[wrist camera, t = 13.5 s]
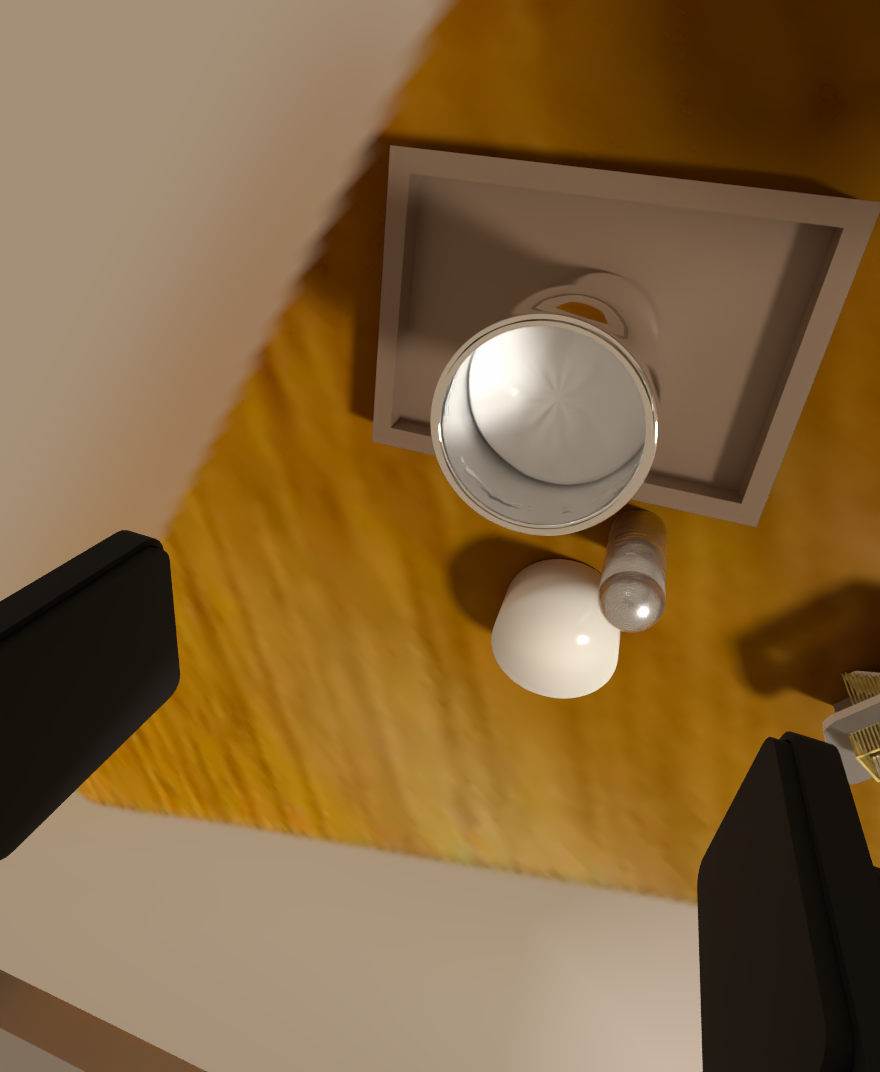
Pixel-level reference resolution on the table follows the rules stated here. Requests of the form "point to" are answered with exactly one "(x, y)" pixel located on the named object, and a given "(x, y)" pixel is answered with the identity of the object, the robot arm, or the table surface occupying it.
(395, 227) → the tray
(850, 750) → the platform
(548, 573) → the white rounded cylinder
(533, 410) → the silver metal tumbler
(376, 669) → the table surface
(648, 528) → the salt shaker
